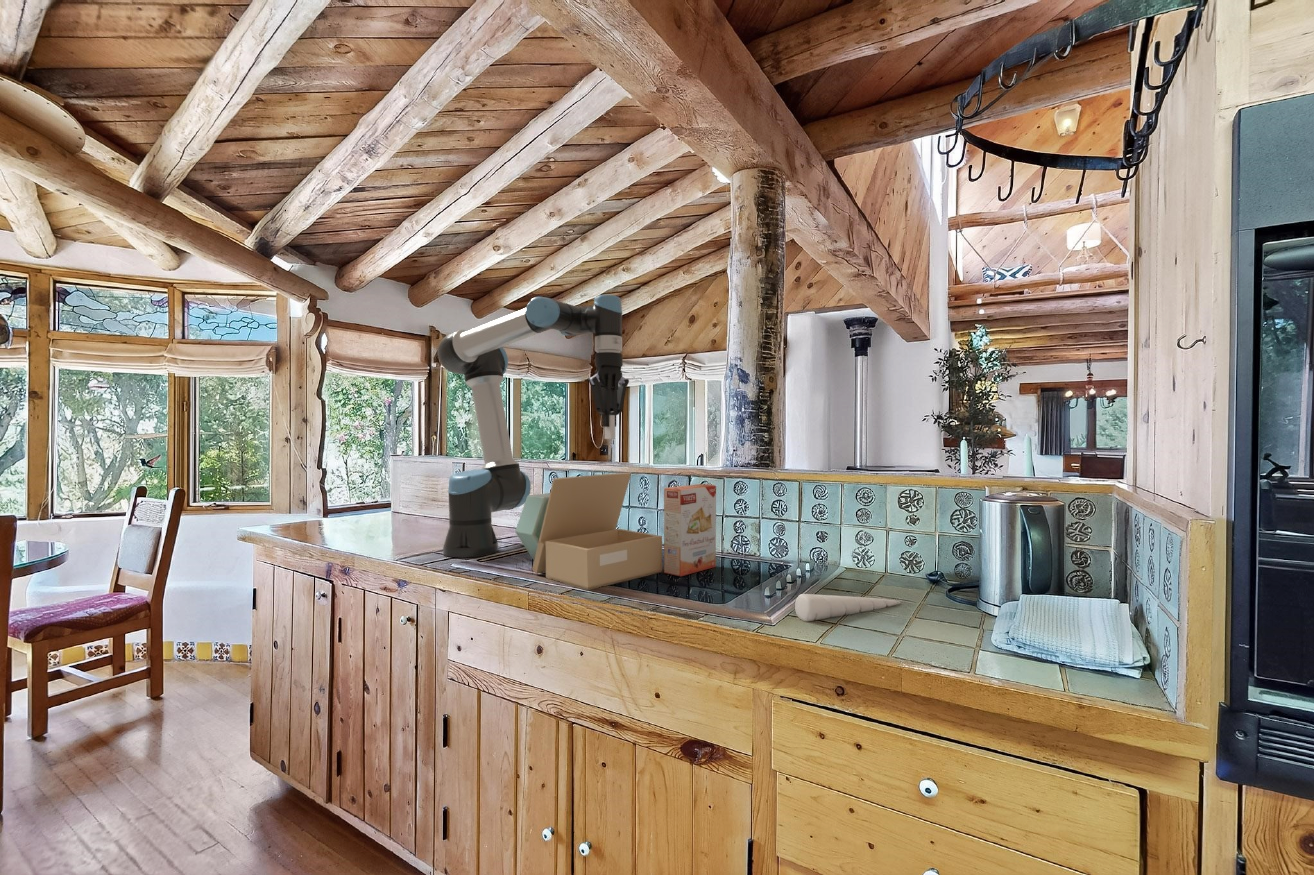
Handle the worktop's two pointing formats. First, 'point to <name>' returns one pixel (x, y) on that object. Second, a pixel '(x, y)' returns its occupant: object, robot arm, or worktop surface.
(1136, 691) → the worktop surface
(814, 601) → the unicorn horn
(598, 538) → the mailer
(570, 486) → the lid
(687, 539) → the cracker box
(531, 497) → the planter
